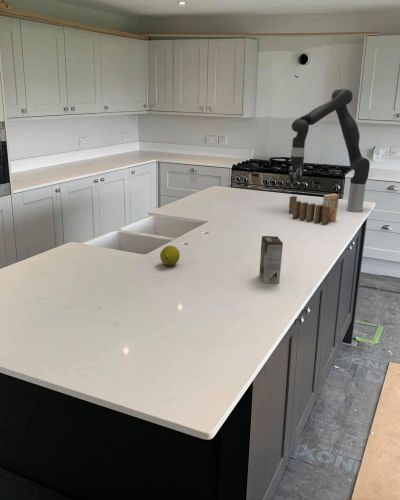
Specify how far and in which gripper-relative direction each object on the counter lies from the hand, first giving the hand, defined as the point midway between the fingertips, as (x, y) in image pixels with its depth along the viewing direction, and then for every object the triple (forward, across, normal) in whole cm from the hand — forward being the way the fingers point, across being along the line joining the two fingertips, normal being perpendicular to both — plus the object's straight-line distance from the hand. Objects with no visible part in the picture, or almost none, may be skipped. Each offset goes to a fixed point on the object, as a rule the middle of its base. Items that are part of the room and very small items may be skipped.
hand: (295, 183), depth 302 cm
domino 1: (+18, 0, 0) cm, 18 cm away
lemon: (+19, +122, +7) cm, 123 cm away
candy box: (+18, +3, +25) cm, 31 cm away
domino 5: (+18, +11, +22) cm, 30 cm away
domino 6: (+18, +11, +26) cm, 34 cm away
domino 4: (+18, +11, +17) cm, 27 cm away
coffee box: (+19, +108, +46) cm, 119 cm away
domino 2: (+18, +11, +8) cm, 23 cm away
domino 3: (+18, +11, +12) cm, 25 cm away
